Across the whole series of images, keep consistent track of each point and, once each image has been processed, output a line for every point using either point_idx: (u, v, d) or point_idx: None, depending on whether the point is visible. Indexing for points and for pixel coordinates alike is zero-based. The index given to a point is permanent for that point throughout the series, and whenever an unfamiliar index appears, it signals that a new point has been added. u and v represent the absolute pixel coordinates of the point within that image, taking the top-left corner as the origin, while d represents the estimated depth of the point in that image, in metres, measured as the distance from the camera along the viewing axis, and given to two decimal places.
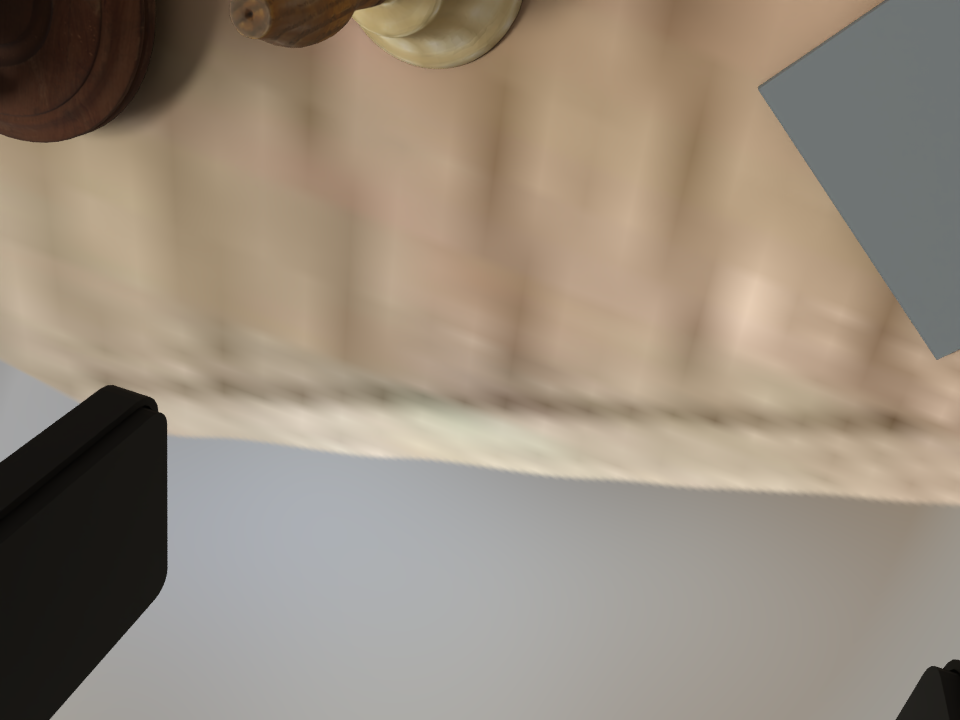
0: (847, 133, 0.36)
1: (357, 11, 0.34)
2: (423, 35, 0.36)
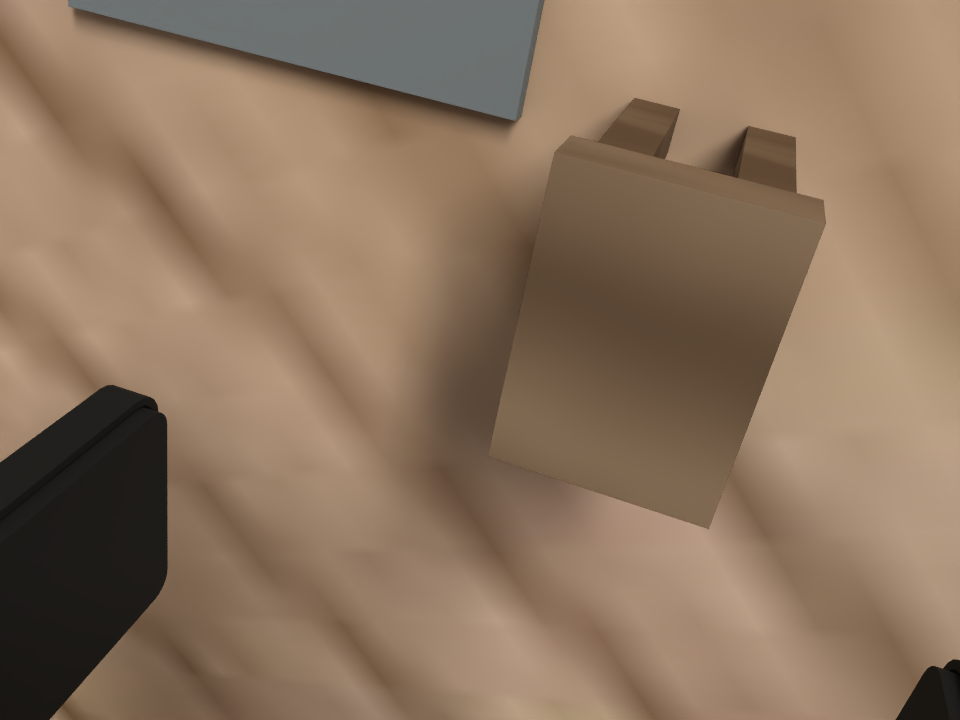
0: None
1: None
2: None
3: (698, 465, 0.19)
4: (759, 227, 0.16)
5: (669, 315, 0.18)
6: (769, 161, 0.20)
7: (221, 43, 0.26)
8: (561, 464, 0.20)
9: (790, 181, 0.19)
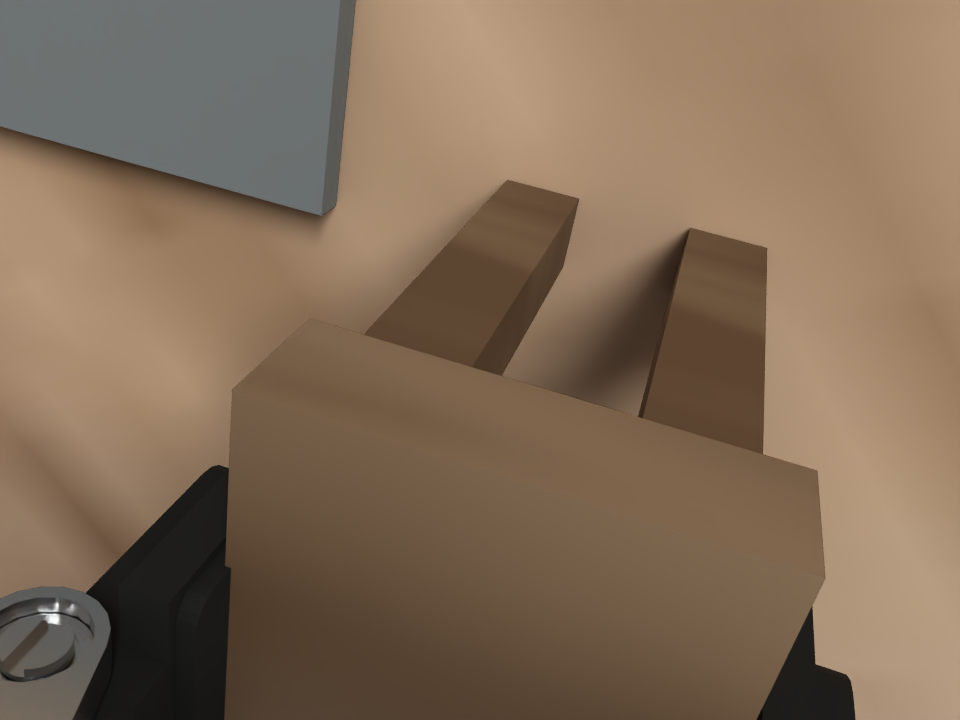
0: None
1: None
2: None
3: None
4: (676, 570, 0.07)
5: (501, 702, 0.08)
6: (717, 321, 0.11)
7: None
8: None
9: (753, 380, 0.10)
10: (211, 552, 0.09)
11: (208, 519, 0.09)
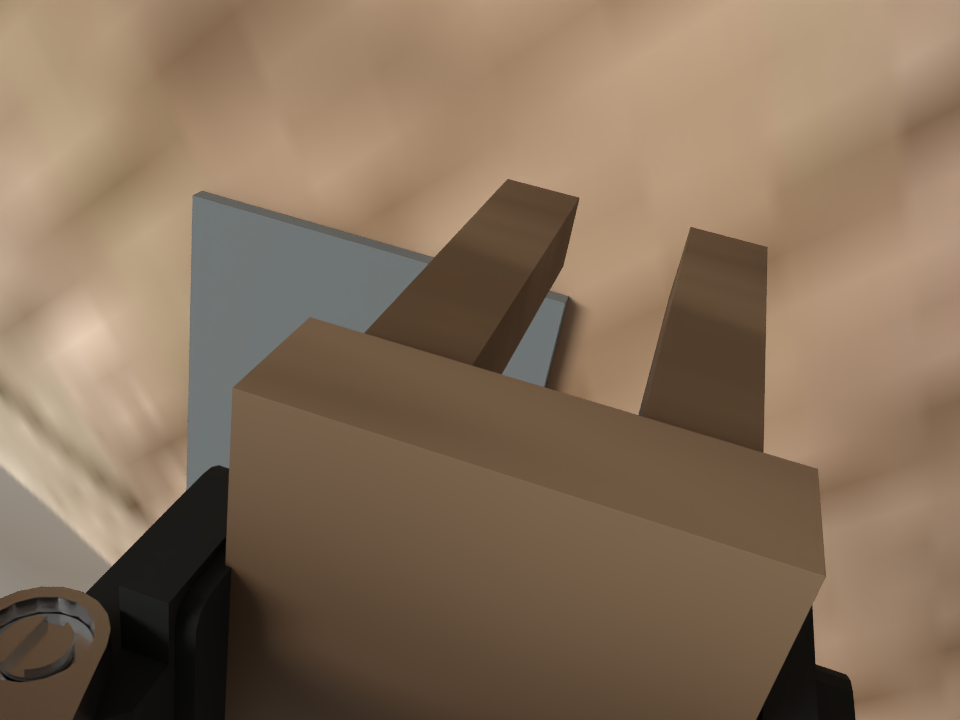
0: (234, 294, 0.34)
1: None
2: None
3: None
4: (676, 568, 0.07)
5: (502, 701, 0.08)
6: (718, 320, 0.11)
7: None
8: None
9: (753, 378, 0.10)
10: (211, 553, 0.09)
11: (208, 519, 0.09)
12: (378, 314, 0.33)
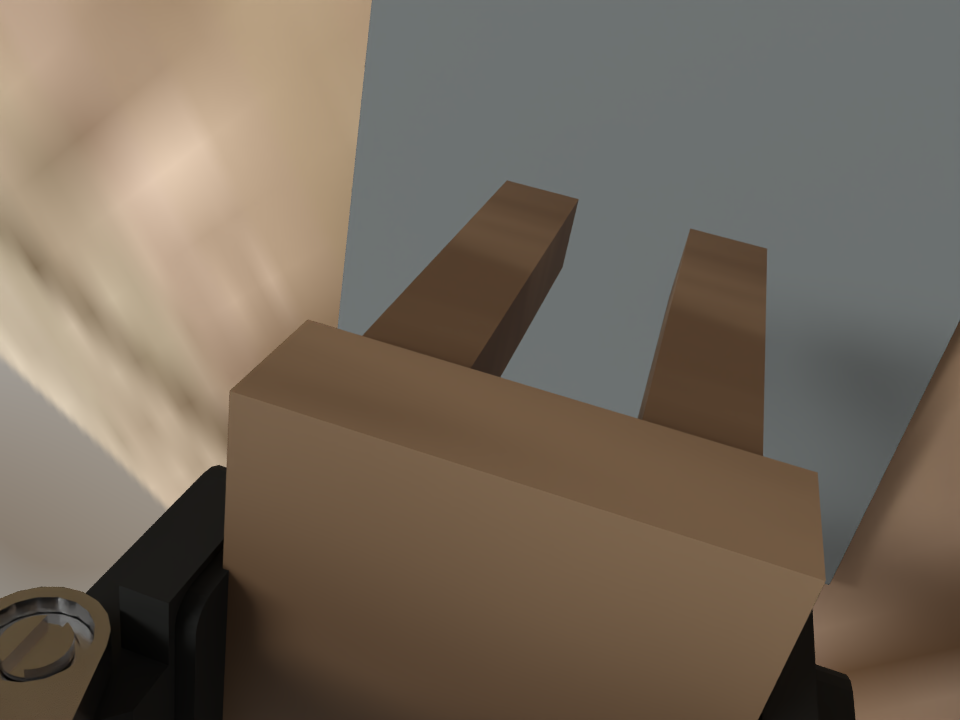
0: (445, 57, 0.20)
1: None
2: None
3: None
4: (675, 572, 0.07)
5: (500, 705, 0.08)
6: (717, 322, 0.11)
7: (907, 421, 0.21)
8: None
9: (753, 381, 0.10)
10: (211, 553, 0.09)
11: (208, 519, 0.09)
12: (714, 73, 0.19)
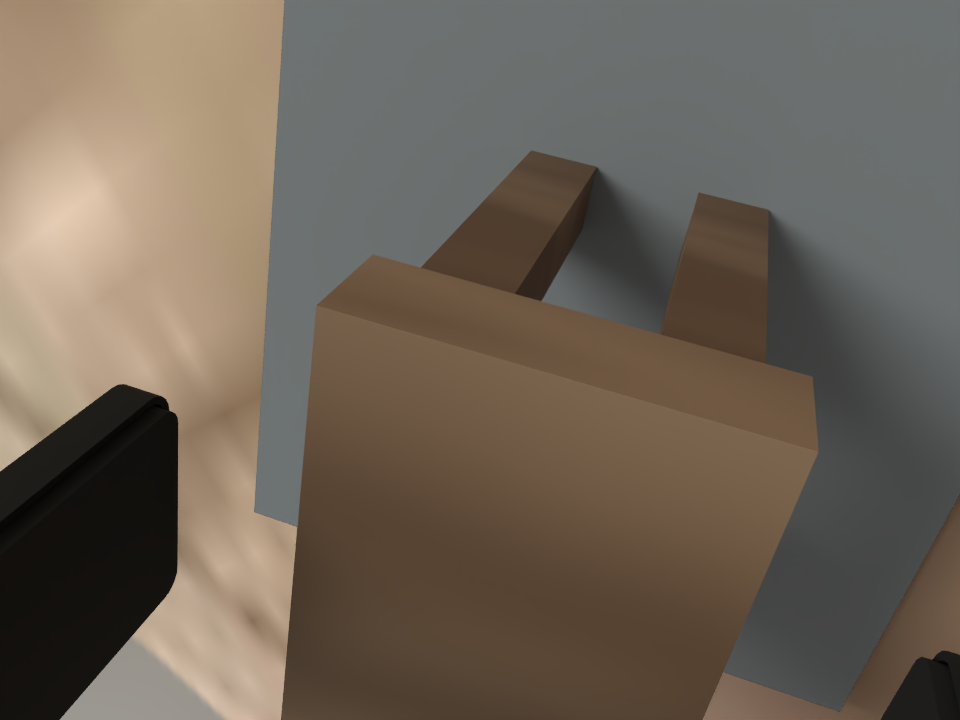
0: (373, 93, 0.16)
1: None
2: None
3: None
4: (693, 451, 0.09)
5: (542, 580, 0.10)
6: (724, 267, 0.13)
7: (935, 532, 0.17)
8: None
9: (757, 313, 0.11)
10: None
11: None
12: (700, 116, 0.15)
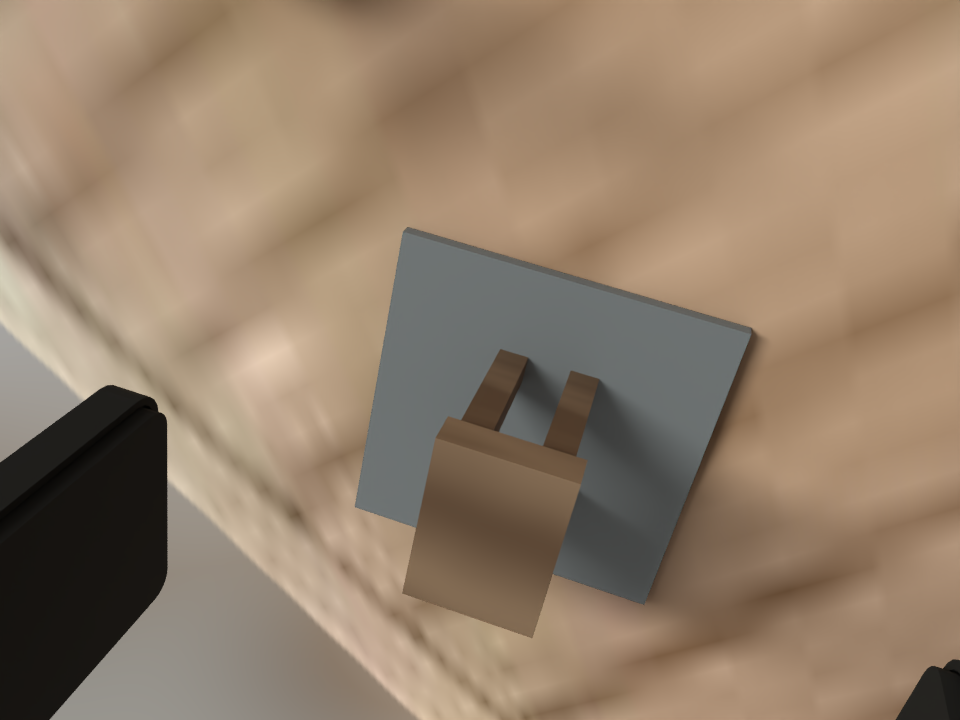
0: (431, 321, 0.37)
1: None
2: None
3: (523, 603, 0.32)
4: (547, 483, 0.30)
5: (502, 523, 0.31)
6: (572, 412, 0.34)
7: (677, 516, 0.38)
8: (446, 599, 0.33)
9: (579, 433, 0.33)
10: None
11: None
12: (570, 341, 0.36)
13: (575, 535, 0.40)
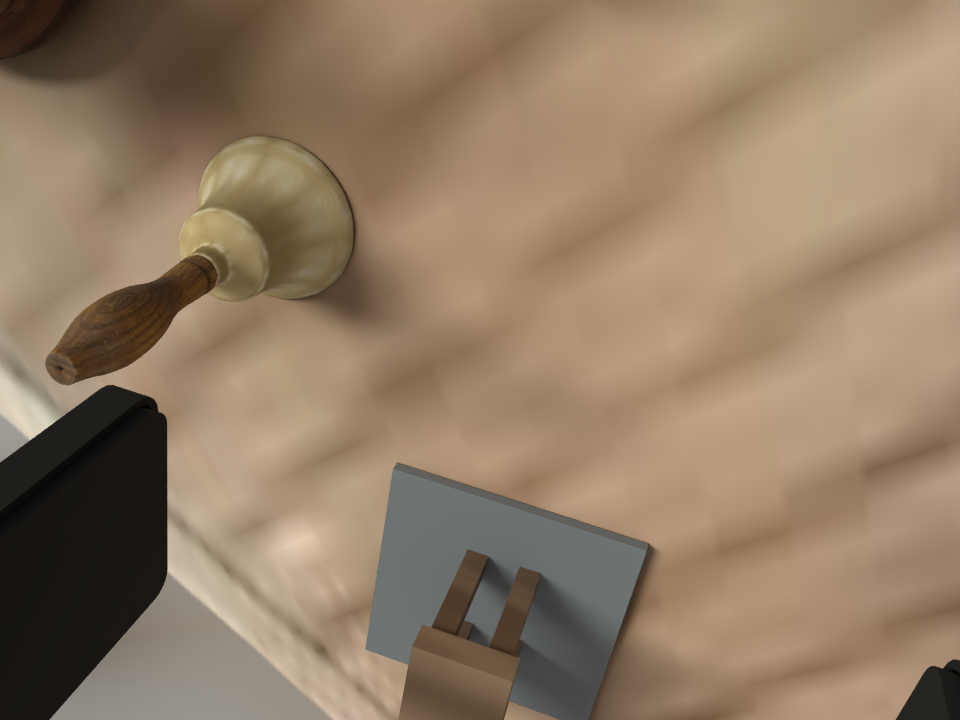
0: (416, 527, 0.50)
1: (183, 254, 0.40)
2: None
3: None
4: (489, 679, 0.42)
5: (461, 702, 0.44)
6: (515, 609, 0.46)
7: (604, 668, 0.51)
8: None
9: (518, 630, 0.45)
10: None
11: None
12: (518, 547, 0.49)
13: (530, 677, 0.53)
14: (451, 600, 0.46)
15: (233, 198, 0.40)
